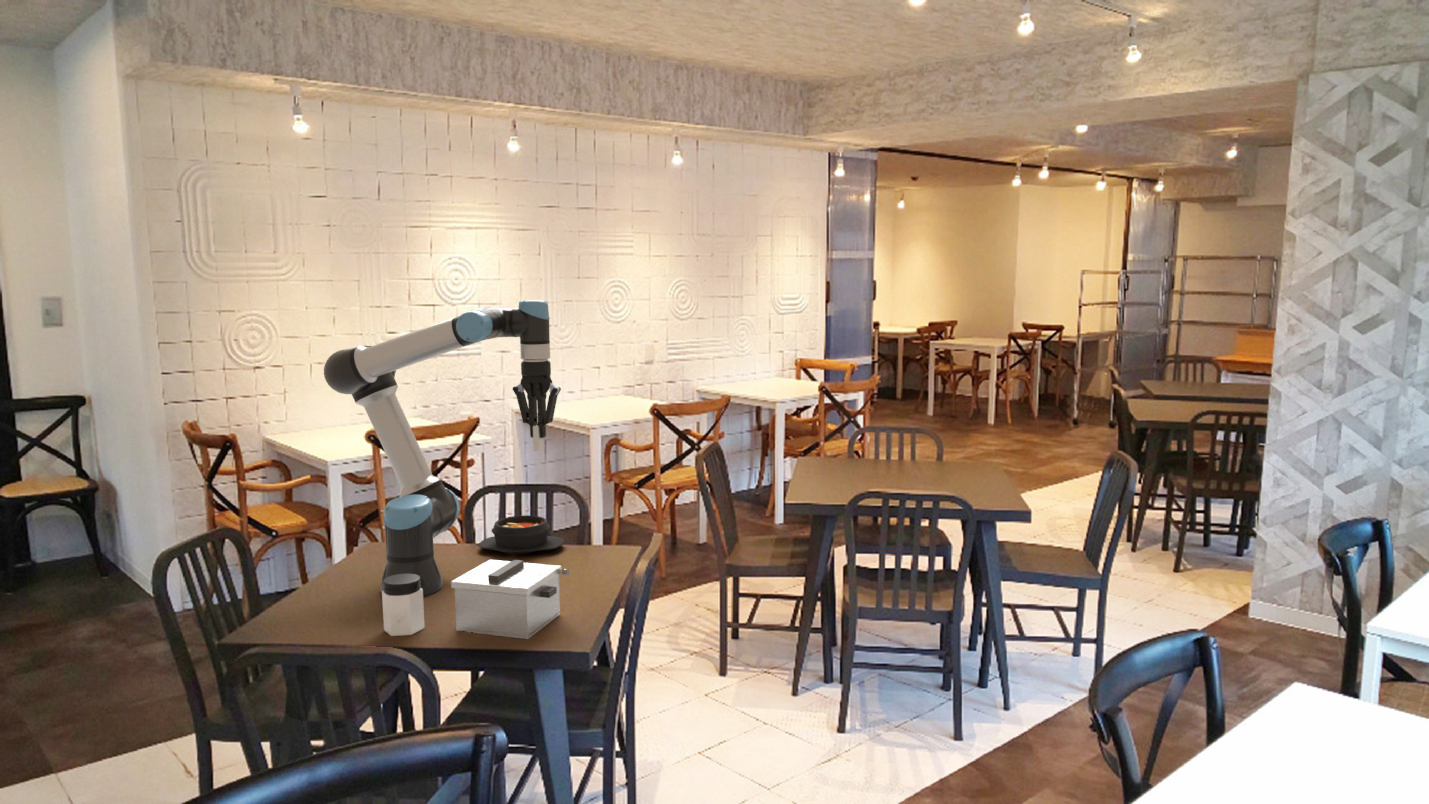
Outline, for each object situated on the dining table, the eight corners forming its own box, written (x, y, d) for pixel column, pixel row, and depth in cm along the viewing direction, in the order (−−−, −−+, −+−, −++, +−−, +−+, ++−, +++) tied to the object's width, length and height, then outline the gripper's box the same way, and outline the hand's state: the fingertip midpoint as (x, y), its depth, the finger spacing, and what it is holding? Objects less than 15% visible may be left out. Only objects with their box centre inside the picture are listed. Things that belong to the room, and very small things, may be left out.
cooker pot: (487, 604, 236) (485, 560, 234) (572, 613, 229) (570, 568, 228) (447, 629, 219) (445, 583, 218) (537, 640, 212) (536, 592, 211)
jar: (380, 637, 215) (377, 585, 213) (387, 624, 223) (384, 574, 221) (421, 635, 216) (419, 583, 214) (427, 622, 224) (424, 572, 222)
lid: (490, 565, 233) (489, 553, 232) (561, 572, 227) (561, 559, 227) (451, 587, 217) (450, 574, 216) (527, 595, 211) (526, 582, 211)
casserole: (571, 541, 291) (570, 514, 290) (555, 559, 272) (555, 530, 271) (490, 539, 293) (489, 512, 292) (469, 557, 274) (468, 529, 273)
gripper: (565, 359, 250) (567, 448, 253) (520, 358, 254) (523, 446, 257) (552, 362, 243) (554, 453, 246) (505, 360, 247) (509, 451, 250)
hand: (538, 449), depth 252 cm, fingers closed
